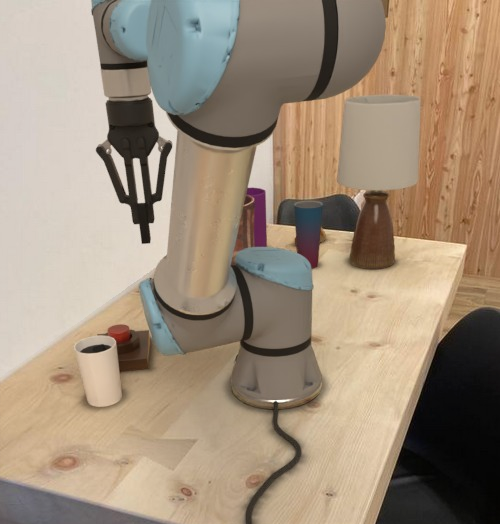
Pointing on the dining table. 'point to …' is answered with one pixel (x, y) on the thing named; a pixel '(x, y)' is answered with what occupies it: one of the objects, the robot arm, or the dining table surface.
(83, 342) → the white coffee cup
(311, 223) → the cup
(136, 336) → the switch box
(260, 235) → the mug
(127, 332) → the lamp switch
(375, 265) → the lamp
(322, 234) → the pastry
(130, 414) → the dining table surface
